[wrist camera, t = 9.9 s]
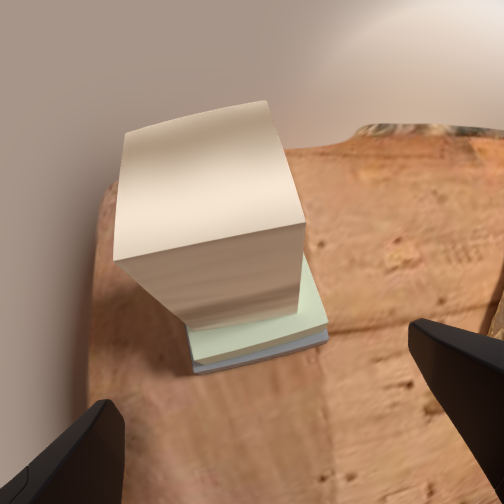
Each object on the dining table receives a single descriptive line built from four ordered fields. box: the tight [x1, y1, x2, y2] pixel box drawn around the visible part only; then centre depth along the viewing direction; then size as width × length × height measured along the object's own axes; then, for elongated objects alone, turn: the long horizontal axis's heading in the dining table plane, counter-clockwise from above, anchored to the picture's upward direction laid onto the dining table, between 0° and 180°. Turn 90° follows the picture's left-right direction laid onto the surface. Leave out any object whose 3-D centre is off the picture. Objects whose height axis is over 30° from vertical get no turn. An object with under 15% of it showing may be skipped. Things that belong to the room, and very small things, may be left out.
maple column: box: [113, 100, 306, 332], centre depth 15 cm, size 6×6×10 cm
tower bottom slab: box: [185, 324, 329, 375], centre depth 23 cm, size 9×9×2 cm
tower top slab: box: [186, 253, 329, 365], centre depth 21 cm, size 8×8×2 cm
